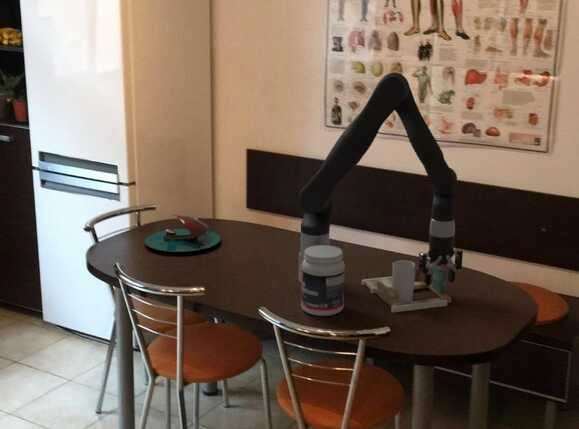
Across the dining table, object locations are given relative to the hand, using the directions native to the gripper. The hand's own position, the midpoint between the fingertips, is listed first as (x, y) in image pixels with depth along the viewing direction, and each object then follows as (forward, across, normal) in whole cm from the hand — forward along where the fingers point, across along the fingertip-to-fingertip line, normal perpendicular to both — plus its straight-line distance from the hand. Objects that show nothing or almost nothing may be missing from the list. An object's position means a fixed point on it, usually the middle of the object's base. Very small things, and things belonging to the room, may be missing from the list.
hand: (439, 283), depth 251 cm
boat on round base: (+4, -68, +74) cm, 100 cm away
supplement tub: (+4, -38, 0) cm, 39 cm away
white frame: (+4, -10, 0) cm, 10 cm away
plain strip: (+4, -10, +12) cm, 16 cm away
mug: (+4, -12, 0) cm, 12 cm away
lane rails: (+4, -10, +4) cm, 12 cm away
